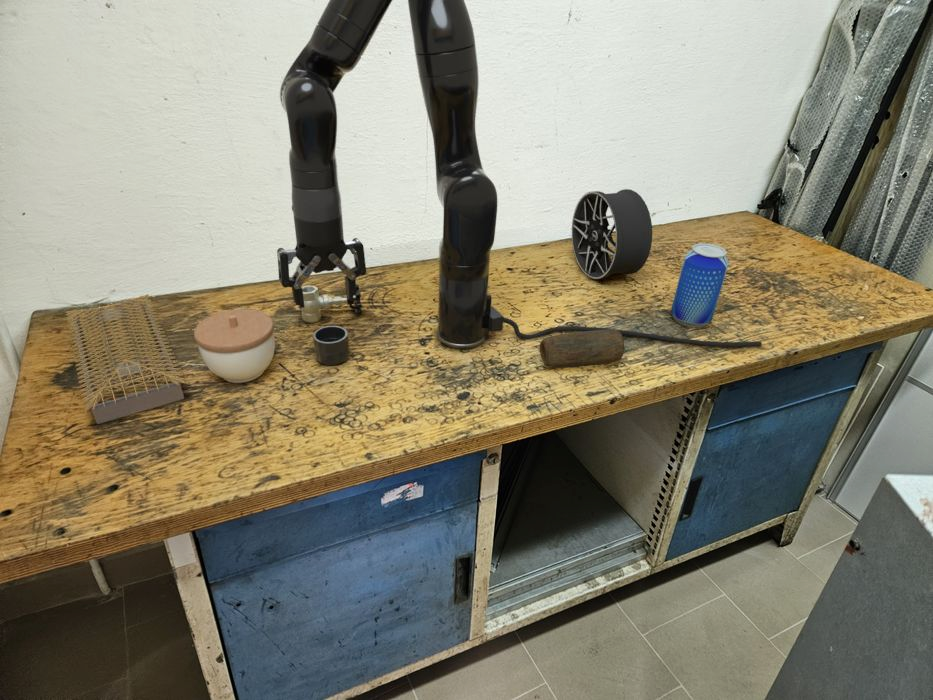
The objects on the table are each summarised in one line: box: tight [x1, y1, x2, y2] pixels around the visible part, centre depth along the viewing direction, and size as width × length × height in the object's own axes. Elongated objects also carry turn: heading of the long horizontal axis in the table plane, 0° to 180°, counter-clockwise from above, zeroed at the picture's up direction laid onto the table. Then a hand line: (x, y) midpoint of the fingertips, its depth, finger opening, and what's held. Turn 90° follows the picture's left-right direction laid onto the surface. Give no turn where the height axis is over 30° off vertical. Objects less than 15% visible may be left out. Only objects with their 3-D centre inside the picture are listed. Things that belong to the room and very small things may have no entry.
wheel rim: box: [571, 188, 653, 280], centre depth 138 cm, size 20×9×20 cm, turn 20°
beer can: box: [670, 242, 730, 329], centre depth 121 cm, size 8×8×16 cm
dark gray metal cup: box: [312, 325, 350, 366], centre depth 107 cm, size 6×6×5 cm
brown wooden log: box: [539, 328, 625, 369], centre depth 108 cm, size 15×7×7 cm, turn 105°
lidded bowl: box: [193, 308, 276, 384], centre depth 101 cm, size 13×13×11 cm
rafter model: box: [65, 294, 188, 425], centre depth 103 cm, size 35×14×6 cm, turn 33°
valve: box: [299, 283, 363, 323], centre depth 119 cm, size 7×7×12 cm
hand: (325, 301), depth 102 cm, fingers open, 8 cm apart
